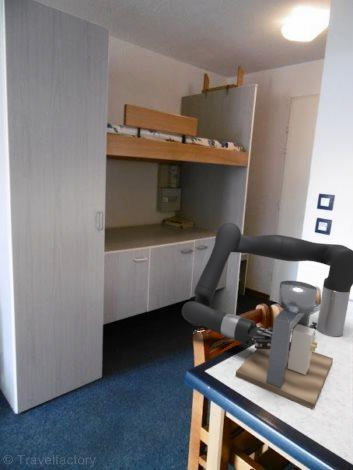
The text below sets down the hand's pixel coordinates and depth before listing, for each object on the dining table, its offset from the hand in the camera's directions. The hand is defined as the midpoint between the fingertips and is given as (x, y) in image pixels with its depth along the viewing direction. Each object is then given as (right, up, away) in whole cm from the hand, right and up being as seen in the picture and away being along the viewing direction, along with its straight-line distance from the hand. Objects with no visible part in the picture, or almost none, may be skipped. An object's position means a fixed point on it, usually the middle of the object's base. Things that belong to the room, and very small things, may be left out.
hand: (292, 347), depth 96 cm
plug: (+2, -6, 0) cm, 6 cm away
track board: (-1, -7, +2) cm, 7 cm away
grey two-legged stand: (-1, -6, +1) cm, 6 cm away
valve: (+10, -4, +25) cm, 28 cm away
